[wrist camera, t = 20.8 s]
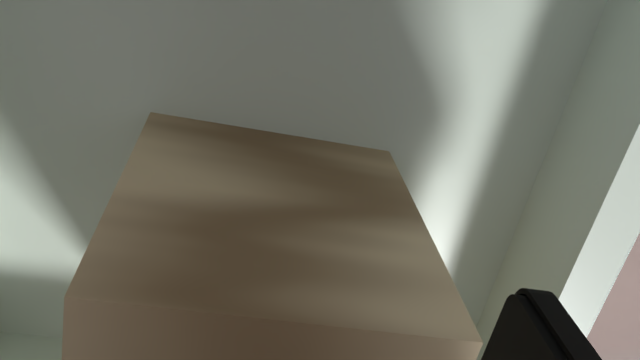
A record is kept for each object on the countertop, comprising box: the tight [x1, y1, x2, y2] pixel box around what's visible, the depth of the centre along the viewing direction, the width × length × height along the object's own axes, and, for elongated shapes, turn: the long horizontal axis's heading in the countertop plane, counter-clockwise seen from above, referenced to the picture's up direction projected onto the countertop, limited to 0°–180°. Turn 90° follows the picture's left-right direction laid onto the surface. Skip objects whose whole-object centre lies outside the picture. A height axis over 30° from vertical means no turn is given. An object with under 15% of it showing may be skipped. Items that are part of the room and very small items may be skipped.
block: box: [62, 112, 483, 360], centre depth 11 cm, size 5×5×6 cm
